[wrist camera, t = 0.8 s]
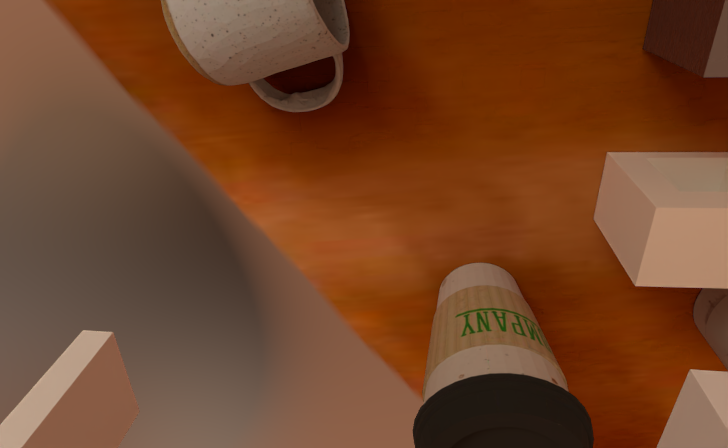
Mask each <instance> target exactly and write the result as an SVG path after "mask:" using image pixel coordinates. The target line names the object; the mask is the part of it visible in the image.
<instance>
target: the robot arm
mask: <svg viewBox="0 0 728 448" xmlns="http://www.w3.org/2000/svg"><path fill="white" fill-rule="evenodd" d="M138 413H139V408H138V405H137V402H136V399H135V396H134V393H133V390H132V387H131V384H130V381H129V378H128V375H127V372H126V369H125V366H124V363H123V360H122V357H121V354H120V351H119V348H118V345H117V342H116V339H115V337H114V334H113V332H102V331H85V330H83V331H82V332H81V333H80V334H79V336H78V337H77V338H76V339H75V340H74V341H73V342H72V344H71V345H70V346H69V347H68V348H67V349H66V350H65V352H64V353H63V354H62V355H61V356H60V357H59V358H58V359H57V361H56V362H55V363H54V364H53V365H52V367H50V369H49V370H48V371H47V372H46V373H45V374H44V375H43V377H42V378H41V379H40V380H39V381H38V383H36V385H35V386H34V387H33V388H32V389H31V390H30V391H29V393H28V394H27V395H26V396H25V397H24V398H23V399H22V401H21V402H20V403H19V404H18V405H17V406H16V407H15V409H14V410H13V411H12V412H11V413H10V414H9V415H8V417H7V418H6V419H5V420H4V421H3V422H2V423H1V425H0V448H118V446H119V444H120V443H121V441H122V439H123V438H124V436H125V434H126V433H127V431H128V430H129V428H130V426H131V425H132V423H133V421H134V419H135V418H136V416H137V415H138ZM657 448H728V372H723V371H707V370H692V369H690V370H689V373H688V375H687V377H686V380H685V382H684V384H683V387H682V389H681V391H680V394H679V396H678V398H677V401H676V403H675V406H674V408H673V410H672V413H671V415H670V417H669V420H668V422H667V424H666V427H665V429H664V431H663V434H662V436H661V439H660V441H659V443H658V446H657Z"/></svg>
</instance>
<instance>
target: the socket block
mask: <svg viewBox="0 0 728 448" xmlns="http://www.w3.org/2000/svg"><path fill="white" fill-rule="evenodd" d="M593 219H594V221H595V222H596V224H597V226H598V227H599V229H600V230H601V232H602V234H603V235H604V237H605V238H606V240H607V242H608V243H609V245H610V247H611V248H612V250H613V251H614V253H615V255H616V256H617V258H618V259H619V261H620V263H621V264H622V266H623V267H624V269H625V271H626V272H627V274H628V276H629V277H630V279H631V280H632V282H633V284H634V285H635V286H650V287H687V288H724V289H728V152H607V155H606V160H605V165H604V170H603V175H602V180H601V185H600V189H599V194H598V199H597V204H596V209H595V214H594V218H593Z"/></svg>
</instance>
